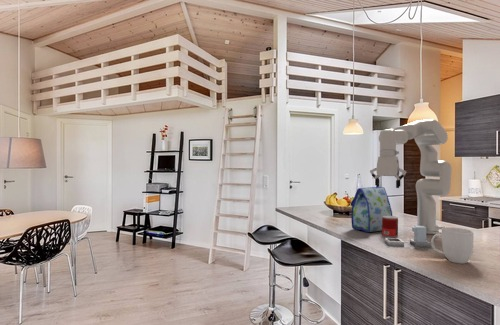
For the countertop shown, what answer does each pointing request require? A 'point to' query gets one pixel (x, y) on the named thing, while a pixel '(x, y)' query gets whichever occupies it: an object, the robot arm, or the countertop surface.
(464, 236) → the mug
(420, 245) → the panel
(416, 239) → the plug
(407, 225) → the countertop surface
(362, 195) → the lunch bag
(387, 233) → the canned food
